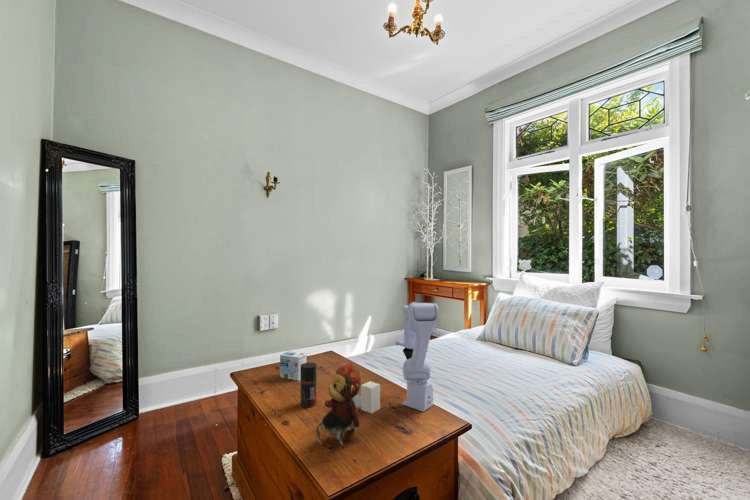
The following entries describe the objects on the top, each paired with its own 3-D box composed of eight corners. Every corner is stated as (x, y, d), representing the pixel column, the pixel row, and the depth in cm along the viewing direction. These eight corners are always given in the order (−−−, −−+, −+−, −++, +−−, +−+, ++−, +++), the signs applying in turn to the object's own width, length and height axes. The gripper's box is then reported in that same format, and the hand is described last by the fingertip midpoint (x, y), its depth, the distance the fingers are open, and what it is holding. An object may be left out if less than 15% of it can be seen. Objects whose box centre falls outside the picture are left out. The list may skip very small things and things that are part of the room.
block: (380, 408, 127) (380, 384, 127) (371, 413, 123) (371, 388, 123) (370, 404, 130) (369, 381, 130) (361, 409, 126) (361, 385, 126)
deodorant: (309, 409, 126) (308, 368, 127) (297, 405, 130) (297, 366, 130) (319, 403, 132) (319, 364, 132) (308, 399, 135) (308, 361, 135)
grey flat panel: (373, 401, 133) (373, 400, 133) (353, 411, 124) (353, 410, 124) (349, 392, 141) (348, 391, 141) (329, 401, 133) (329, 400, 133)
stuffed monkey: (342, 415, 118) (355, 348, 114) (372, 448, 106) (387, 374, 102) (303, 427, 109) (315, 355, 105) (330, 465, 96) (345, 385, 92)
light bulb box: (279, 378, 158) (279, 354, 158) (288, 373, 164) (288, 350, 164) (298, 381, 154) (298, 357, 154) (307, 376, 160) (307, 353, 160)
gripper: (431, 335, 140) (430, 367, 141) (402, 328, 150) (402, 358, 151) (422, 339, 135) (421, 372, 136) (392, 332, 144) (392, 363, 145)
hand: (410, 365), depth 143 cm, fingers closed
